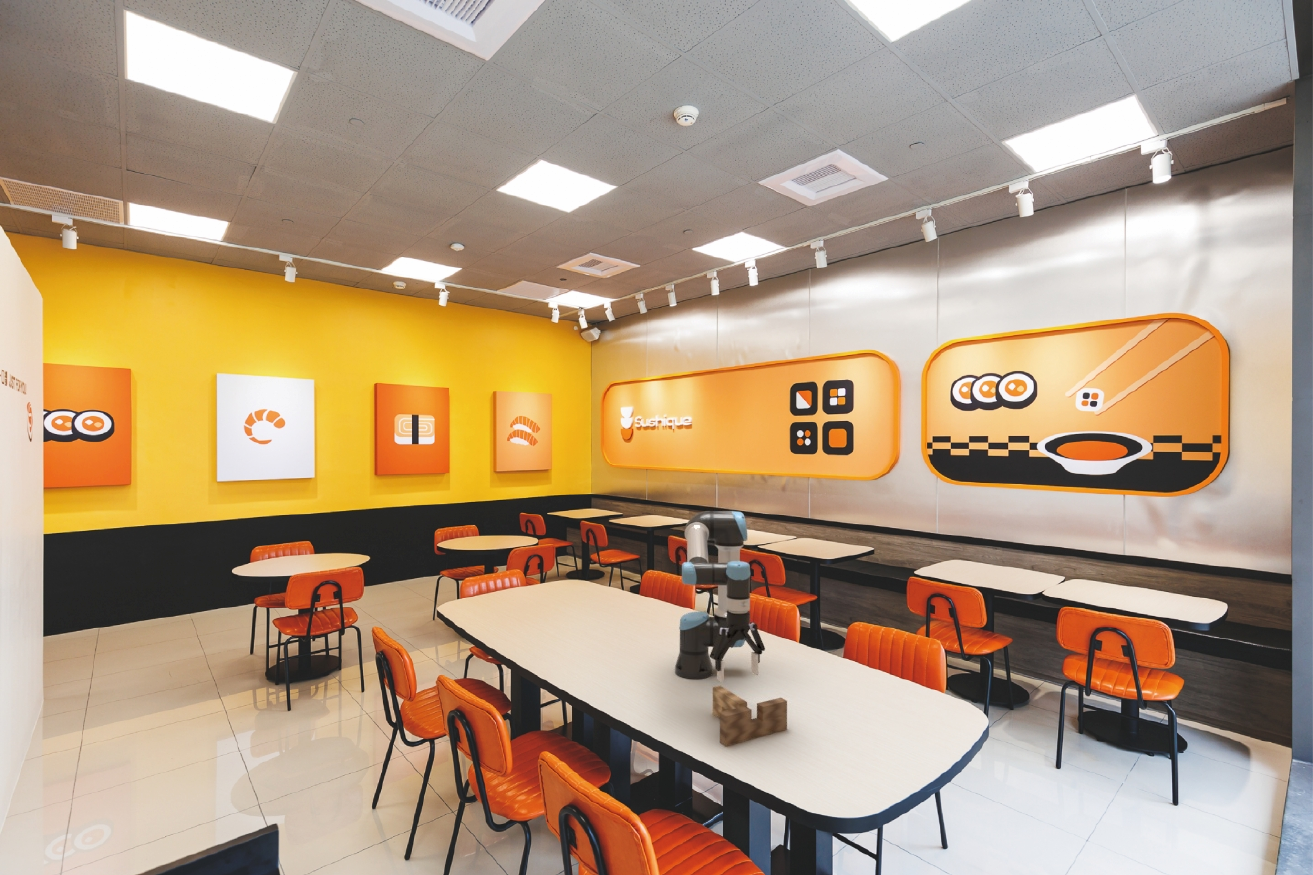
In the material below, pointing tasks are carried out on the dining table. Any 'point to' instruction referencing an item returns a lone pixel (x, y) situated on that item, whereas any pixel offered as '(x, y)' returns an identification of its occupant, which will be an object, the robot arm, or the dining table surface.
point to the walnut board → (753, 721)
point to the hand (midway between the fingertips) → (737, 676)
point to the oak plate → (725, 701)
